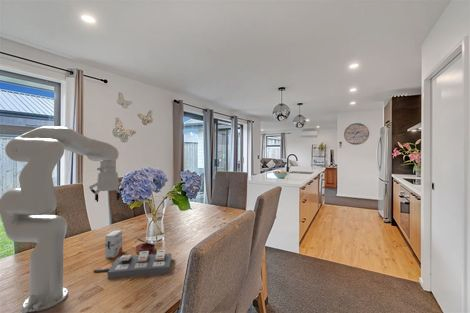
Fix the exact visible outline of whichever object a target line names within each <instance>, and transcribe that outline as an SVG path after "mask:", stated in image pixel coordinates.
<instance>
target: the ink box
mask: <svg viewBox="0 0 470 313" xmlns="http://www.w3.org/2000/svg"><path fill="white" fill-rule="evenodd" d="M104 240H105V243H104V246H105V247H104V248H105V251H104V254H105V257H104V258H106V259H107V258H108V259H109V258H113V259H114V258H116V257H117V256H118V255H119V254H121V253H122V251H123V230H121V229H119V230H113V231H111V232H109V233H108V234H106V235H105V238H104Z"/></svg>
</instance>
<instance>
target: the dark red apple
mask: <svg viewBox="0 0 470 313" xmlns="http://www.w3.org/2000/svg"><path fill="white" fill-rule="evenodd" d="M136 240H137V241H138V242H142V243H140V244H138V245H137V246H136V247H135V254H136V255H137V256H139V254H140V252H141V251H149V254H148V255H152V254H153V253H154V252H155V250H156V249H155V247H156V245H155V243H154V242H148V241H145V240H142V239H141V238H138V237H137V238H136Z"/></svg>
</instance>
